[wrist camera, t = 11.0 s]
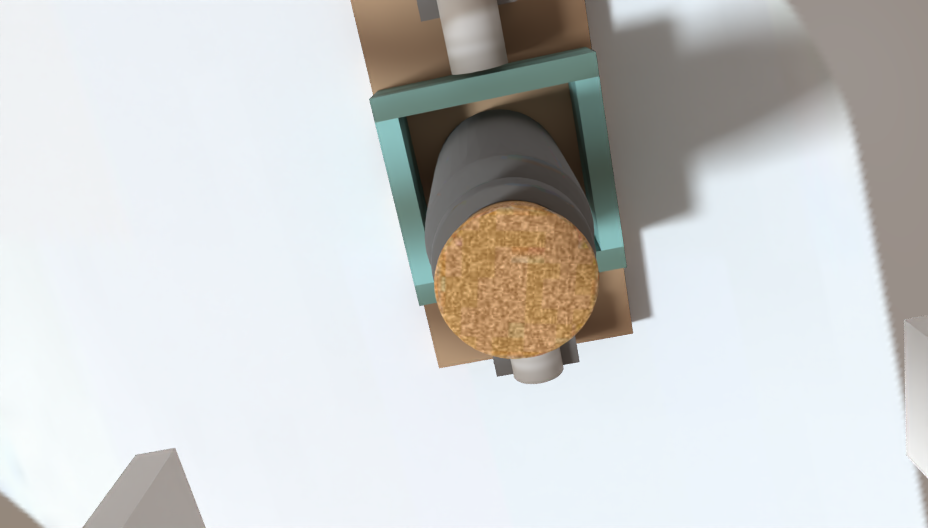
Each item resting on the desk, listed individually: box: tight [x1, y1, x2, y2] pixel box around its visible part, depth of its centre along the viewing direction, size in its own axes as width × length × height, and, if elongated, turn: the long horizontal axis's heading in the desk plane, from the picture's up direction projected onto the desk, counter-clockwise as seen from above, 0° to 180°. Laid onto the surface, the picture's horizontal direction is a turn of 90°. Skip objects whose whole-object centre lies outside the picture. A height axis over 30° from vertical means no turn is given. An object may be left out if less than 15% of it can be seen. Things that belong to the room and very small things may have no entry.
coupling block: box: [351, 0, 633, 384], centre depth 35 cm, size 19×10×5 cm, turn 12°
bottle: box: [425, 109, 599, 359], centre depth 29 cm, size 6×6×15 cm
